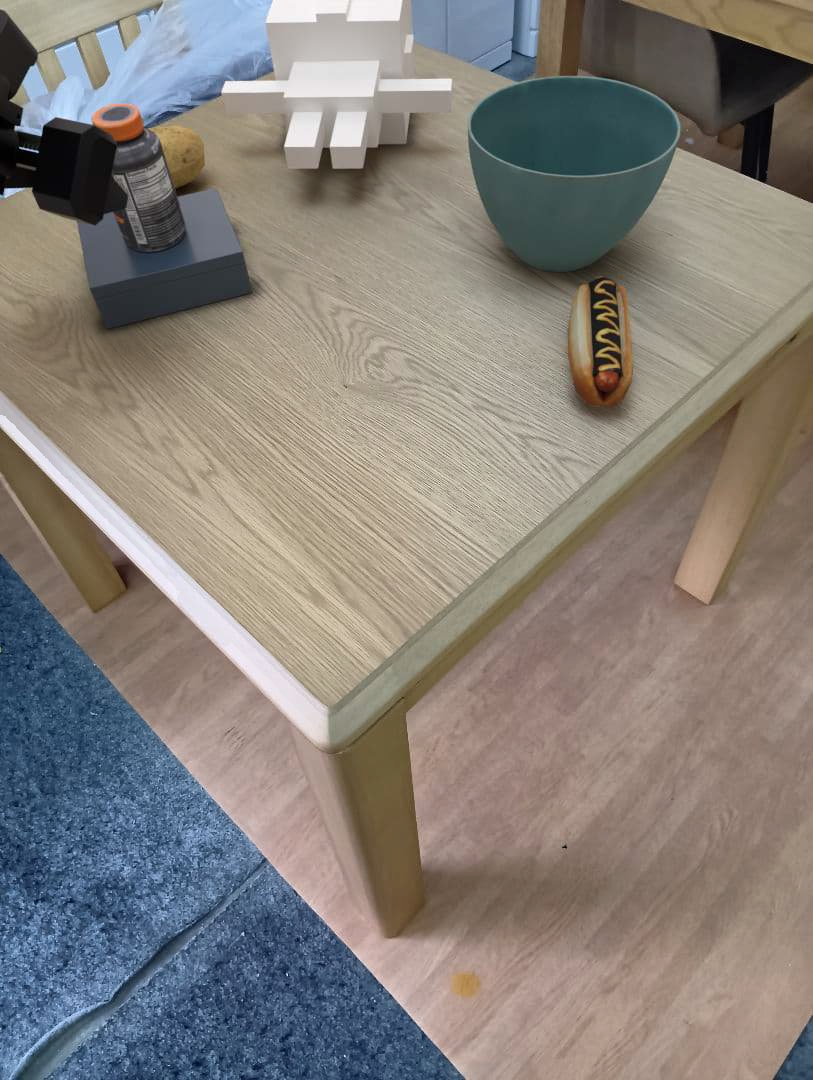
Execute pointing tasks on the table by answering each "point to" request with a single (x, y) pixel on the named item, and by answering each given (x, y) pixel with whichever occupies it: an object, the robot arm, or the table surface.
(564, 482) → the table surface
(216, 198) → the blue lidded box
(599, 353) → the hot dog
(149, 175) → the pill bottle
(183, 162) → the potato
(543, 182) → the teal bowl
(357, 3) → the white voxel figure
